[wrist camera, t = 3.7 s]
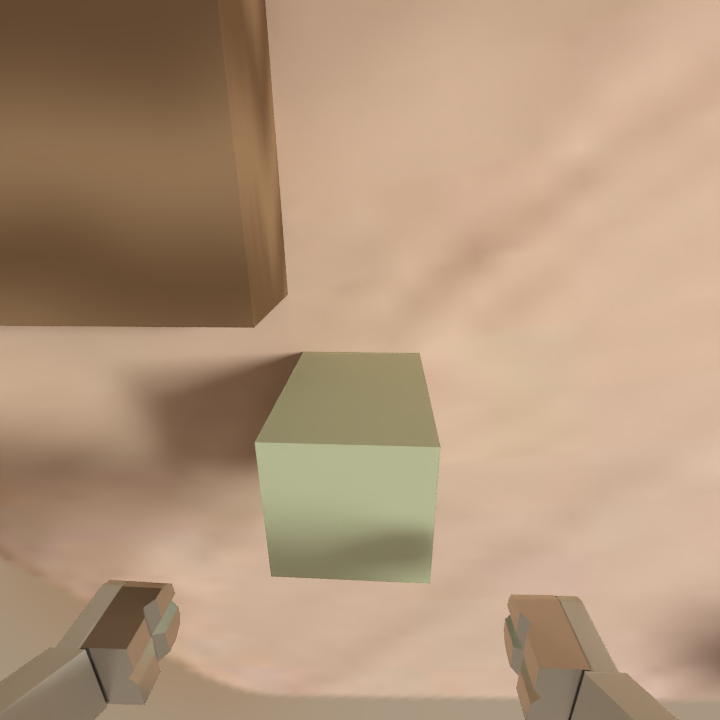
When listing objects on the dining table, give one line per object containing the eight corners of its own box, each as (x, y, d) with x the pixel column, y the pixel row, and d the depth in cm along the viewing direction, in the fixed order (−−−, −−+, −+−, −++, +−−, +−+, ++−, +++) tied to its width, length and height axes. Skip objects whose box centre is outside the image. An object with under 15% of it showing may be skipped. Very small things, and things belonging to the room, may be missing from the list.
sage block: (303, 351, 17) (254, 442, 11) (419, 353, 17) (440, 447, 11) (309, 449, 19) (271, 576, 13) (414, 451, 19) (429, 583, 12)
